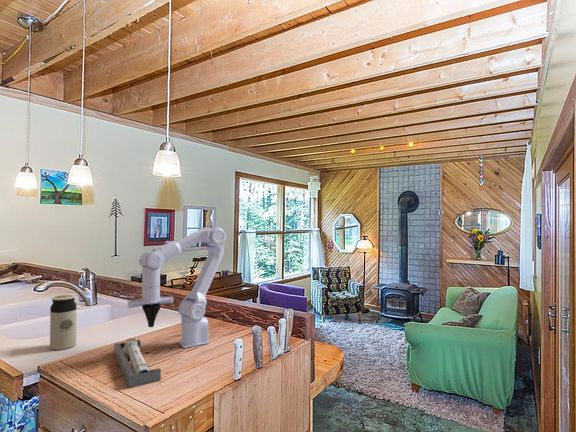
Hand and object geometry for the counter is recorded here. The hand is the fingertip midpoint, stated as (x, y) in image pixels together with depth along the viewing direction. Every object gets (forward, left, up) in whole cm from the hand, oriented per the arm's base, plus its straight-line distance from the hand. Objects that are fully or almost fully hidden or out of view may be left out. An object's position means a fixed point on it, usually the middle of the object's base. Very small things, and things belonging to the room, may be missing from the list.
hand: (150, 326), depth 122 cm
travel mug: (+25, -25, -10) cm, 37 cm away
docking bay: (+6, +7, -9) cm, 13 cm away
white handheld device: (+6, +9, -10) cm, 15 cm away
